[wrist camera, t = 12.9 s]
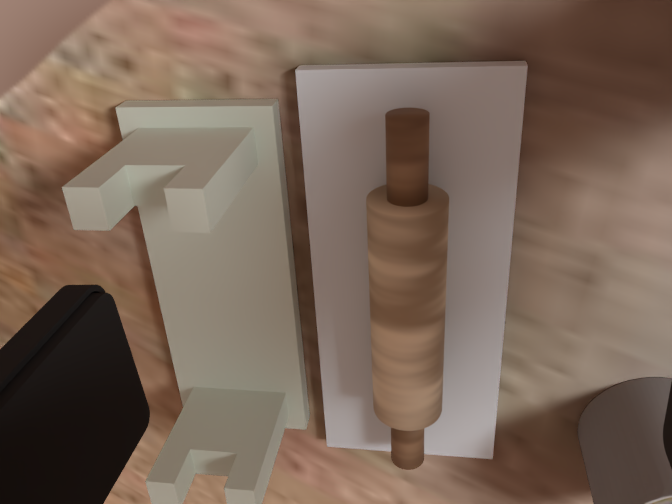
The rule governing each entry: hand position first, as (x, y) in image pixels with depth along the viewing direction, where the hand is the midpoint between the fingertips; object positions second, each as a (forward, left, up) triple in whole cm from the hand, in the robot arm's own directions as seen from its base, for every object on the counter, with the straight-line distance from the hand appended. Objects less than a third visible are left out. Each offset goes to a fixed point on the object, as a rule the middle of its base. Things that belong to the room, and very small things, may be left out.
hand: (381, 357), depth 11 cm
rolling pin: (0, +17, -28) cm, 33 cm away
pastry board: (+1, +17, -29) cm, 34 cm away
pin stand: (+14, +17, -29) cm, 37 cm away
